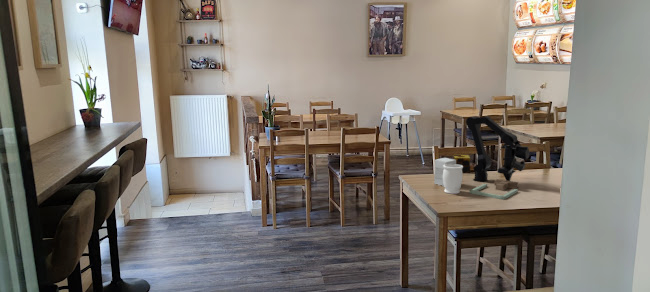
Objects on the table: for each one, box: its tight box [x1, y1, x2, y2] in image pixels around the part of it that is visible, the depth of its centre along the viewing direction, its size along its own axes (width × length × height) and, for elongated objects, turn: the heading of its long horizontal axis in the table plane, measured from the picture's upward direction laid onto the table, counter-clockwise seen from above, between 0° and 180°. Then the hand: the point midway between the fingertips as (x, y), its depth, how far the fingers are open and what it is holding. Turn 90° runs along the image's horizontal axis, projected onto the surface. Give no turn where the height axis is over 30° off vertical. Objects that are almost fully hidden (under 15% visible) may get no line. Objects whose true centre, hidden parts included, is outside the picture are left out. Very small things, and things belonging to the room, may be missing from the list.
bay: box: [469, 183, 519, 201], centre depth 263 cm, size 19×19×2 cm
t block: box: [494, 178, 519, 191], centre depth 272 cm, size 12×12×3 cm
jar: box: [443, 164, 464, 195], centre depth 264 cm, size 11×10×15 cm
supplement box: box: [433, 157, 456, 187], centre depth 280 cm, size 9×9×15 cm
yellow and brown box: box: [453, 154, 471, 174], centre depth 313 cm, size 10×10×10 cm
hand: (508, 182), depth 277 cm, fingers closed
